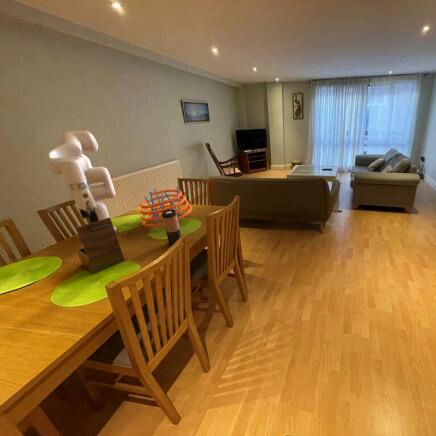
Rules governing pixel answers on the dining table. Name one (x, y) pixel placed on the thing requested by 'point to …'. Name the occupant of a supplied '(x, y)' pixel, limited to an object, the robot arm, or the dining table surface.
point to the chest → (101, 259)
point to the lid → (98, 236)
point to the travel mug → (171, 225)
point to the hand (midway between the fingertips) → (90, 219)
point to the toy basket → (161, 203)
